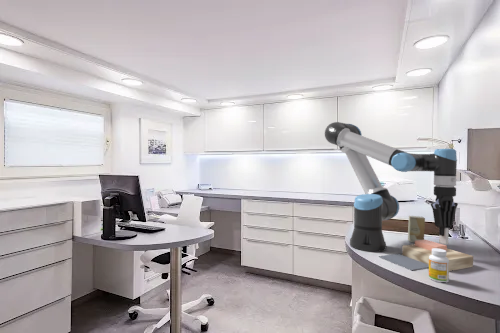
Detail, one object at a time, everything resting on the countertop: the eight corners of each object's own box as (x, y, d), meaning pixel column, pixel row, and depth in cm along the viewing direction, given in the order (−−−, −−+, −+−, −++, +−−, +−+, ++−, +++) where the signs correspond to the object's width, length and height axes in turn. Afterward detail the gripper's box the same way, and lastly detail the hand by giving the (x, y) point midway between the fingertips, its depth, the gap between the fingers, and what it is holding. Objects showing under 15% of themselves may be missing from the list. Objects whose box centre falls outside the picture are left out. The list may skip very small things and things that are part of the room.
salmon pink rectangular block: (414, 245, 113) (414, 240, 113) (425, 244, 115) (425, 239, 115) (436, 252, 104) (436, 247, 104) (446, 250, 107) (446, 245, 106)
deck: (402, 255, 113) (402, 245, 113) (426, 251, 117) (426, 242, 117) (446, 271, 96) (446, 260, 96) (473, 266, 101) (473, 256, 100)
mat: (378, 256, 110) (378, 256, 110) (398, 254, 114) (398, 253, 114) (412, 270, 96) (412, 269, 96) (433, 267, 100) (433, 266, 100)
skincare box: (409, 242, 132) (410, 216, 132) (407, 239, 136) (407, 215, 136) (424, 243, 130) (425, 217, 130) (422, 241, 134) (422, 216, 134)
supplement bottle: (434, 275, 93) (434, 246, 93) (452, 281, 88) (452, 251, 88) (425, 278, 90) (425, 248, 90) (443, 284, 85) (443, 253, 85)
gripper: (443, 187, 106) (441, 247, 107) (465, 186, 111) (464, 244, 111) (424, 185, 113) (423, 242, 114) (446, 185, 118) (445, 239, 118)
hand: (443, 243), depth 112 cm, fingers closed
